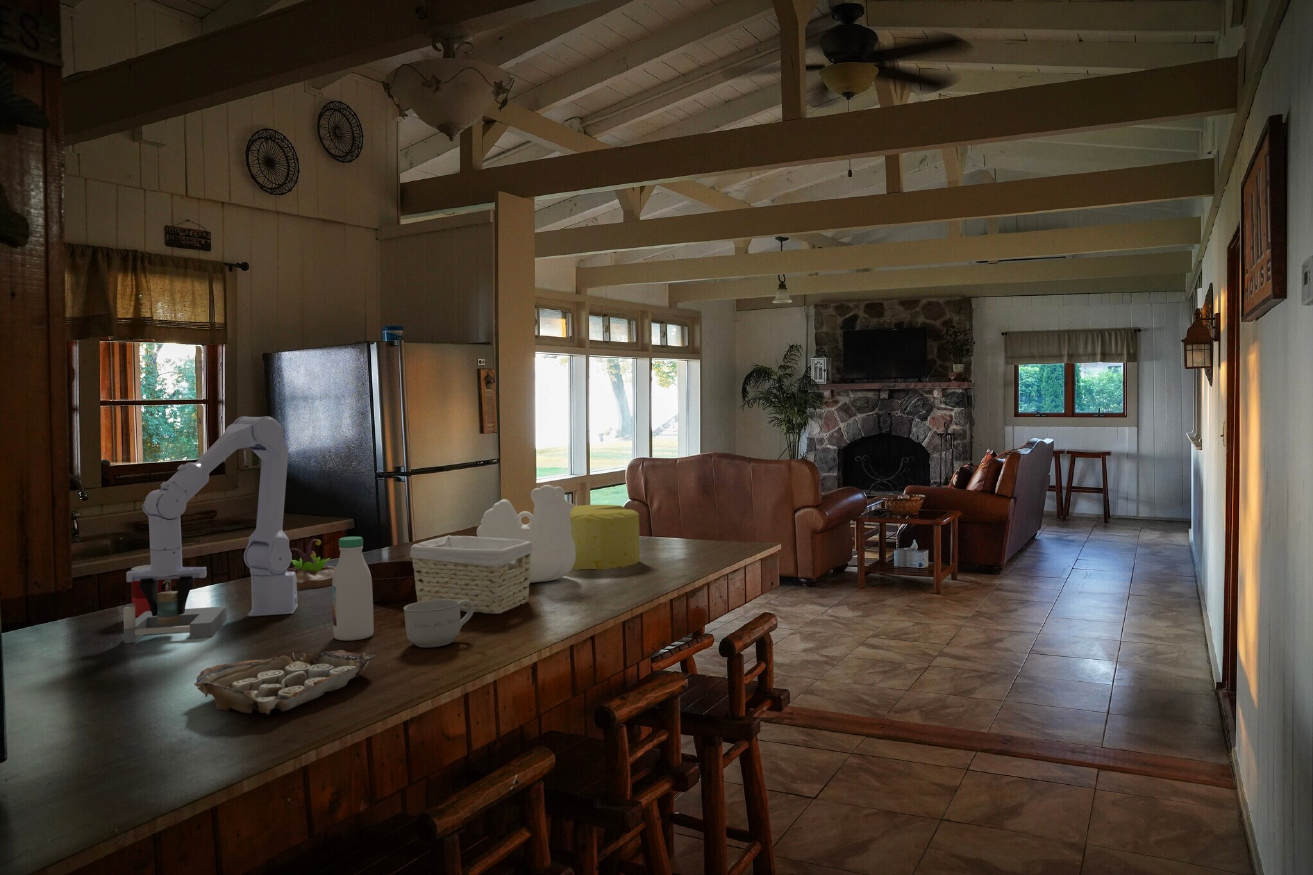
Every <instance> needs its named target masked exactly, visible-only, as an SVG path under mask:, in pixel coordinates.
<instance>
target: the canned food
mask: <svg viewBox="0 0 1313 875" xmlns="http://www.w3.org/2000/svg"><path fill="white" fill-rule="evenodd" d="M130 569H131V570H130V571H137V570H147V569H151V564H144V565H139V566H138V565H137V566H134V567H132V568H130ZM156 577H157V576H156ZM163 577H164V576H163ZM130 583H131V588H130V589H131V603H132V604H131V606H133V607H135V619H136V618H138V617H139V616H140V615H142V614H143V613H144V612H145V611H151V609H150V606H149V603H148V601H147V599H146V597H145V595H144V594H143V592H142V591H141V589H140V588H139V584H140V581H133V582H130ZM167 591H172V579H162V580H159V581H158V593H161V592H167Z"/></svg>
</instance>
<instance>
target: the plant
mask: <svg viewBox="0 0 1313 875" xmlns="http://www.w3.org/2000/svg"><path fill="white" fill-rule="evenodd" d="M313 543H314V544H315V545H317V546H321V544H322V541H321V540H320V539H316V538H314V539H311V541H309V543H308V545H307V547H306V553H305V552H303V551H302V550H301V549H298V548H296V547H295V548H294V547H293V548H290V551H295V552H297V553H298V555H300V556H299V557H300V558H299V560H297V559H292V560H291V563H292V565H293V567H292V568H293V569H291V568H287V572H295V573H296V580H297V591H302V590H305V589H317V588H318V589H319V588H324V587H330V586H332V580H333V574H334V571H335V568H336V566H334V565H333V566H332V565H326V563H328V561H330V559H331V558H330V557H329V558H323V559H321V557H320V556H318V557H317V553H316V552H315V551H314V550H312V545H313Z"/></svg>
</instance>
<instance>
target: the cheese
mask: <svg viewBox="0 0 1313 875" xmlns="http://www.w3.org/2000/svg"><path fill="white" fill-rule="evenodd" d="M570 515H571V518H570V522H571V530H570V532H571V534H572V537H573V540H574V543H575V546H576V547H575V552H576V558H575V563H574V565H573V567H572V569H603V570H610V569H609V568H615V569H618V568H617V567H621V568H627V567H630V566H629V565H631V566H634V565H637V564H638V563H640V562H639V561H641V555H640V553H641V552H640V551H641V550H640V514H639V512H638V511H636V510H633V509H629V508H628V509H626V508H625V507H624V506H622V505H617V504H616V505H615V504H585V505H583V504H582V505H574V507H573V509H572V510H571V512H570ZM637 562H638V563H637ZM636 563H637V564H636ZM633 564H634V565H633ZM626 566H627V567H626ZM572 569H571V570H572Z"/></svg>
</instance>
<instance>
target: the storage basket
mask: <svg viewBox="0 0 1313 875" xmlns="http://www.w3.org/2000/svg"><path fill="white" fill-rule="evenodd" d="M531 552H533V547H532V542H531V541H524V540H516V539H503V538H486V537H478V536H474V535H473V536H471V535H470V536H469V535H451V534H450V535H449V534H448V535H446V536H442V537H437V538H433V539H430V540H425V541H421V542H419V543H414V544H413V545H412V544H411V547H410V552H409V554H410V555H409V556H410V558H411V559H412V568H413V571H414V572H413V574H414V581H415V583H414V584H415V591H416V600H417V602H422V601H430V600H442V599H450V600H457V601H461V600H469V601H470V602H471V603H472V604H473V606H474V612H473V613H483V614H496V615H499V614H502V613H504V612H507V611H509V610H511V609H515V608H517V607H519V606H521V605H520V604H522V605H524V604H526V603H527V602H528V601H529V594H530V593H529V592H530V587H529V586H530V584H531V583H530V579H529V578H530V572H531V571H530V562H531V560H530V557H531ZM417 602H416V603H417ZM460 612H466V613H467V612H468V606H467V605H463V606H462V607H461V609H460Z"/></svg>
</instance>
